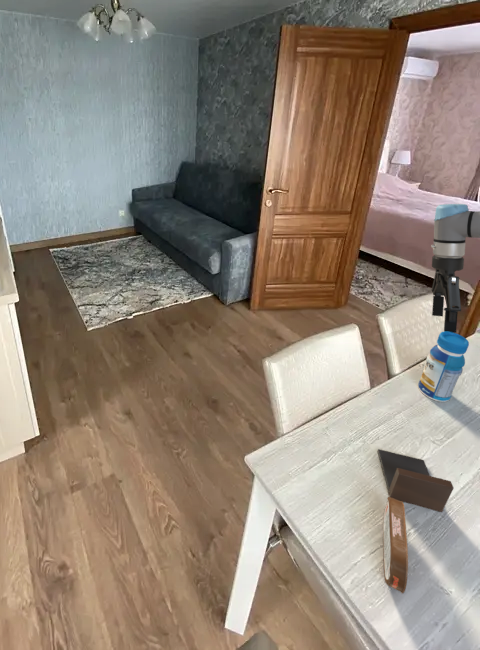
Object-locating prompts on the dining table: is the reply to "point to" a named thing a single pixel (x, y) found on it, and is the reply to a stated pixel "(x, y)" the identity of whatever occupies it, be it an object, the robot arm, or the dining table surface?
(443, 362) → the blue capped bottle
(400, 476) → the dock
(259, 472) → the dining table surface
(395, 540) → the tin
